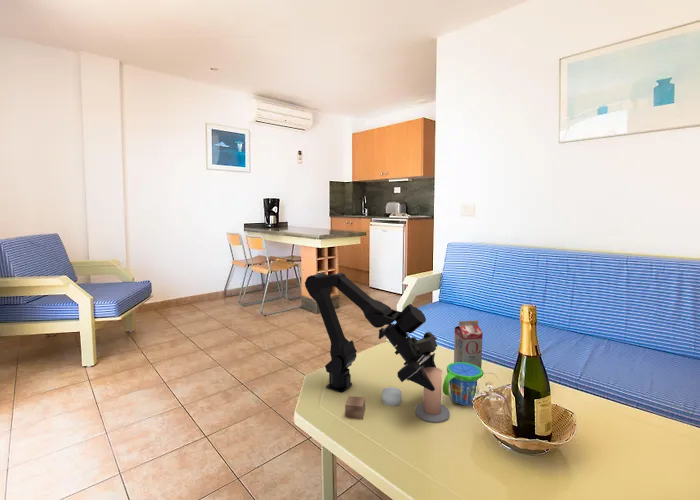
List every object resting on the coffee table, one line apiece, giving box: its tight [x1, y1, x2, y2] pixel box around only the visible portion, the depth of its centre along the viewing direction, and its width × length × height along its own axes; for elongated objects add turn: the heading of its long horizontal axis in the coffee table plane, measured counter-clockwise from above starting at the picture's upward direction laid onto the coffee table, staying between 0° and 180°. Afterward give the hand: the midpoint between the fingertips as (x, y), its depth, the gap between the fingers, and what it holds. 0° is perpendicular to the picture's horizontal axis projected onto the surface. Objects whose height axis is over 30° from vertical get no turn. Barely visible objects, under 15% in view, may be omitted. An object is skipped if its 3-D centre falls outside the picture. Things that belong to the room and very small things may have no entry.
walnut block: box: [344, 395, 366, 420], centre depth 105 cm, size 5×5×4 cm
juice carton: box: [453, 319, 483, 369], centre depth 121 cm, size 7×7×22 cm
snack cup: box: [442, 362, 485, 407], centre depth 111 cm, size 16×10×10 cm
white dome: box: [381, 386, 403, 407], centre depth 111 cm, size 6×6×3 cm
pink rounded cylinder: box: [422, 366, 443, 415], centre depth 104 cm, size 5×5×12 cm
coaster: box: [414, 401, 451, 424], centre depth 105 cm, size 10×10×1 cm
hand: (437, 385), depth 103 cm, fingers open, 6 cm apart
